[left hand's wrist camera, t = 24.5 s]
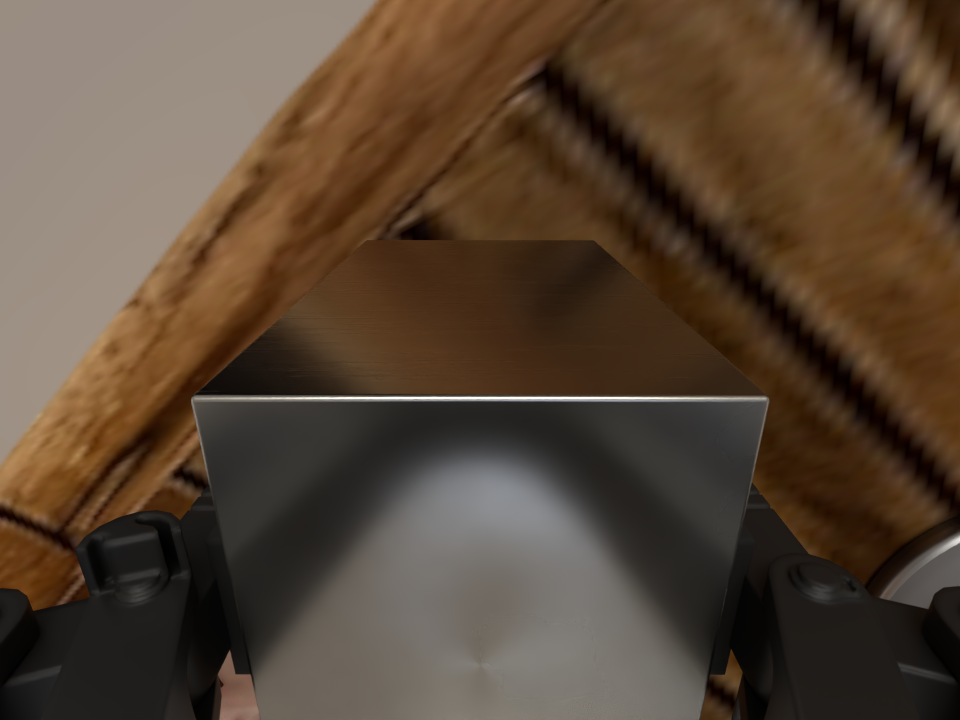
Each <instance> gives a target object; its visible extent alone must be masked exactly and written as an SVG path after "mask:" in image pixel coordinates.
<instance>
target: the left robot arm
mask: <svg viewBox="0 0 960 720" xmlns="http://www.w3.org/2000/svg"><path fill="white" fill-rule="evenodd" d="M75 552H76V555H77V558H78V561H79V564H80V567H81V570H82V573H83V575H84V578H85V581H86V584H87V587H88V590H89V593H90V598H87V599H83V600H80V601H75V602H71V603H67V604H62V605H58V606H53V607H49V608H45V609H40V610H36V611H33V610H32V607H31V605H30V602H29V600H28V597H27V596H26V595H25V594H24V593H22V592H21V591H19V590H17V589H5V588H0V720H220V710H221V699H222V694H221V687H220V682H219V678H218V673H219V671H220V669H221V667H222V665H223V663H224V661H225V659H226V657H227V655H228V653H229V651H230V653H231V657H232V661H233V666H234V670H235V674H250V669H249V665H248V660H247V655H246V651H245V646H244V642H243V637H242V633H241V628H240V623H239V619H238V614H237V610H236V605H235V600H234V596H233V591H232V587H231V582H230V577H229V573H228V568H227V564H226V559H225V554H224V550H223V545H222V541H221V536H220V531H219V527H218V522H217V518H216V513H215V508H214V504H213V499H212V495H211V490H210V485H208V486H207V487H206V488H205V490H204V491H203V492H202V495H201V497H198V499H197V500H196V501H195V502H194V504H193V505H192V506H191V510H190V511H187V513H186V514H185V515H184V516H183V518H182V519H181V520H180V521H179V519H178V518H177V517H175V516H174V515H173V514H172V513H168V512H163V511H158V510H155V511H142V512H136V513H133V514H129V515H125V516H122V517H119V518H116V519H114V520H112V521H110V522H108V523H106V524H104V525H101V526H100V527H98V528H97V529H95V530H94V531H93V532H91V533H90V534H89V535H87V536H86V537H84V539H83V540H82V541H81V542H80V544H79V545H78V546H77V548H76V549H75ZM731 649H732V651H733V653H734V655H735V657H736V659H737V661H738V663H739V665H740V667H741V669H742V671H743V674H742V678H741V682H740V686H739V690H738V694H737V698H736V702H735V706H734V710H733V714H732V720H740V719H741V720H960V516H958V517H955V518H953V519H950V520H948V521H946V522H944V523H942V524H940V525H938V526H936V527H934V528H933V529H931V530H929V531H928V532H926V533H924V534H923V535H921V536H920V537H918V538H917V539H915V540H914V541H912V542H911V543H909V544H908V545H907V546H906V547H904V548H903V549H902V550H900V551H899V552H898V553H897V554H896V555H895V556H894V557H893V558H891V559H890V560H889V561H888V562H887V563H886V565H885V566H884V567H883V568H882V569H881V570H880V571H879V572H878V574H877V575H876V576H875V577H874V579H873V580H872V581H871V583H870V584H869V586H868V587H867V589H865V587H864V586H863V584H862V583H861V581H859V580H858V579H857V578H856V577H855V576H853V575H852V574H851V573H850V572H848V571H847V570H846V569H844V568H842V567H840V566H838V565H836V564H835V563H833V562H831V561H829V560H826V559H823V558H820V557H817V556H813V555H810V554H808V553H807V551H806V550H805V549H804V547H803V546H802V545H801V544H800V542H799V541H798V540H797V539H796V537H795V536H794V535H793V534H792V532H791V531H790V530H789V529H788V527H787V526H786V525H785V524H784V522H783V521H782V520H781V518H780V517H779V516H778V515H777V513H776V512H775V511H774V510H773V509H770V505H769V503H768V502H767V501H766V500H765V498H764V497H763V496H762V495H759V491H758V489H757V488H756V487H755V486H754V484H753V483H751V488H750V492H749V497H748V501H747V506H746V511H745V515H744V520H743V524H742V529H741V534H740V538H739V543H738V547H737V552H736V556H735V561H734V566H733V570H732V575H731V579H730V584H729V588H728V593H727V598H726V602H725V607H724V611H723V616H722V620H721V625H720V630H719V634H718V639H717V643H716V648H715V652H714V657H713V662H712V666H711V671H710V675H725V672H726V667H727V663H728V659H729V654H730V650H731Z"/></svg>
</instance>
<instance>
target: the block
mask: <svg viewBox="0 0 960 720" xmlns="http://www.w3.org/2000/svg"><path fill="white" fill-rule="evenodd" d="M191 403H192V407H193V412H194V417H195V421H196V426H197V430H198V435H199V440H200V444H201V449H202V453H203V458H204V462H205V467H206V472H207V476H208V481H209V485H210V490H211V495H212V499H213V504H214V508H215V513H216V518H217V522H218V527H219V531H220V536H221V541H222V545H223V550H224V554H225V559H226V564H227V568H228V573H229V577H230V582H231V587H232V591H233V596H234V600H235V605H236V610H237V614H238V619H239V623H240V628H241V633H242V637H243V642H244V646H245V651H246V655H247V660H248V665H249V669H250V674H251V678H252V683H253V688H254V692H255V697H256V701H257V706H258V711H259V715H260V720H700V717H701V712H702V707H703V703H704V698H705V694H706V689H707V684H708V680H709V675H710V671H711V666H712V662H713V657H714V652H715V648H716V643H717V639H718V634H719V630H720V625H721V620H722V616H723V611H724V607H725V602H726V598H727V593H728V588H729V584H730V579H731V575H732V570H733V566H734V561H735V556H736V552H737V547H738V543H739V538H740V534H741V529H742V524H743V520H744V515H745V511H746V506H747V501H748V497H749V492H750V488H751V483H752V479H753V474H754V469H755V465H756V460H757V456H758V451H759V447H760V442H761V437H762V433H763V428H764V424H765V419H766V415H767V410H768V405H769V397H768V395H767V394H766V393H764V392H763V391H762V390H761V389H760V388H759V387H758V386H757V385H755V384H754V383H753V382H752V381H751V380H750V379H749V378H748V377H746V376H745V375H744V374H743V373H742V372H741V371H740V370H739V369H738V368H736V367H735V366H734V365H733V364H732V363H731V362H730V361H729V360H727V359H726V358H725V357H724V356H723V355H722V354H721V353H720V352H718V351H717V350H716V349H715V348H714V347H713V346H712V345H711V344H709V343H708V342H707V341H706V340H705V339H704V338H703V337H702V336H700V335H699V334H698V333H697V332H696V331H695V330H694V329H693V328H691V327H690V326H689V325H688V324H687V323H686V322H685V321H684V320H683V319H681V318H680V317H679V316H678V315H677V314H676V313H675V312H674V311H672V310H671V309H670V308H669V307H668V306H667V305H666V304H665V303H663V302H662V301H661V300H660V299H659V298H658V297H657V296H656V295H654V294H653V293H652V292H651V291H650V290H649V289H648V288H647V287H645V286H644V285H643V284H642V283H641V282H640V281H639V280H638V279H636V278H635V277H634V276H633V275H632V274H631V273H630V272H629V271H628V270H626V269H625V268H624V267H623V266H622V265H621V264H620V263H619V262H617V261H616V260H615V259H614V258H613V257H612V256H611V255H610V254H608V253H607V252H606V251H605V250H604V249H603V248H602V247H601V246H599V245H598V244H597V243H596V242H595V241H593V240H367V241H365V242H364V243H363V244H362V245H361V246H360V247H358V248H357V249H356V250H355V251H354V252H353V253H352V254H351V255H349V256H348V257H347V258H346V259H345V260H344V261H343V262H342V263H341V264H339V265H338V266H337V267H336V268H335V269H334V270H333V271H332V272H330V273H329V274H328V275H327V276H326V277H325V278H324V279H323V280H321V281H320V282H319V283H318V284H317V285H316V286H315V287H314V288H313V289H311V290H310V291H309V292H308V293H307V294H306V295H305V296H304V297H302V298H301V299H300V300H299V301H298V302H297V303H296V304H295V305H293V306H292V307H291V308H290V309H289V310H288V311H287V312H286V313H285V314H283V315H282V316H281V317H280V318H279V319H278V320H277V321H276V322H274V323H273V324H272V325H271V326H270V327H269V328H268V329H267V330H265V331H264V332H263V333H262V334H261V335H260V336H259V337H258V338H256V339H255V340H254V341H253V342H252V343H251V344H250V345H249V346H248V347H246V348H245V349H244V350H243V351H242V352H241V353H240V354H239V355H237V356H236V357H235V358H234V359H233V360H232V361H231V362H230V363H228V364H227V365H226V366H225V367H224V368H223V369H222V370H221V371H220V372H218V373H217V374H216V375H215V376H214V377H213V378H212V379H211V380H209V381H208V382H207V383H206V384H205V385H204V386H203V387H202V388H200V389H199V390H198V391H197V392H196V393H195V394H194V395H193V396H192V399H191Z"/></svg>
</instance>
